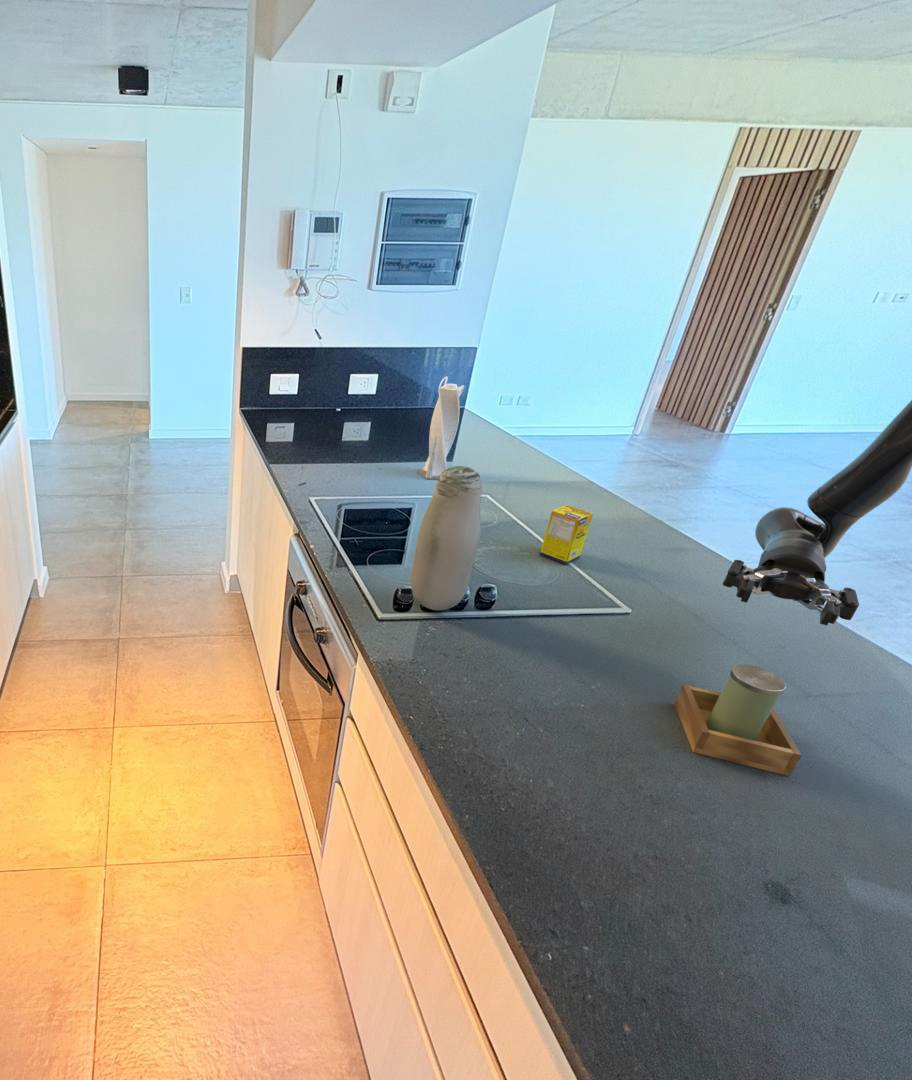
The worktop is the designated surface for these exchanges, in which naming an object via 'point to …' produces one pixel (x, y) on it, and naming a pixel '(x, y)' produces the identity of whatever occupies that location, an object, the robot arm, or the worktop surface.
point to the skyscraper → (442, 429)
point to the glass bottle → (448, 540)
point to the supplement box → (566, 534)
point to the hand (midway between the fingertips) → (785, 607)
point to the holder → (764, 753)
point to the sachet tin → (745, 702)
